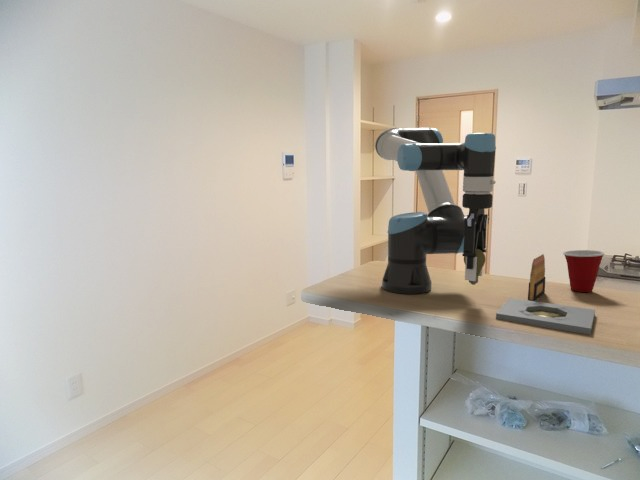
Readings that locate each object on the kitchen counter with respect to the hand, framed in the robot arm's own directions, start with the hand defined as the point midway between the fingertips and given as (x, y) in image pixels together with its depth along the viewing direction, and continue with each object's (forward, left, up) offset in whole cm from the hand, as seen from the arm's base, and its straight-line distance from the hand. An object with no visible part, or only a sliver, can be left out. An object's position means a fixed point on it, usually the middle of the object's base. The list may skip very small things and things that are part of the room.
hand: (473, 277), depth 119 cm
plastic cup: (+23, +33, -8) cm, 41 cm away
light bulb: (0, 0, -2) cm, 2 cm away
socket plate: (+18, -1, -8) cm, 20 cm away
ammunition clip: (+13, +18, -8) cm, 23 cm away
